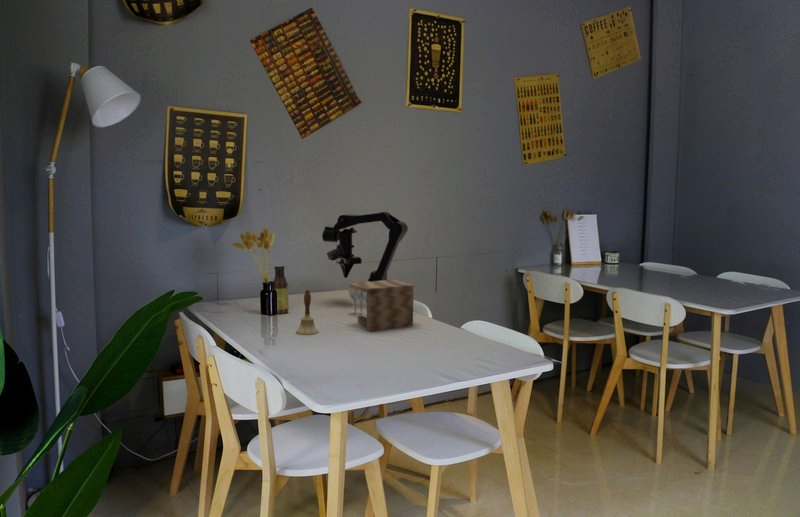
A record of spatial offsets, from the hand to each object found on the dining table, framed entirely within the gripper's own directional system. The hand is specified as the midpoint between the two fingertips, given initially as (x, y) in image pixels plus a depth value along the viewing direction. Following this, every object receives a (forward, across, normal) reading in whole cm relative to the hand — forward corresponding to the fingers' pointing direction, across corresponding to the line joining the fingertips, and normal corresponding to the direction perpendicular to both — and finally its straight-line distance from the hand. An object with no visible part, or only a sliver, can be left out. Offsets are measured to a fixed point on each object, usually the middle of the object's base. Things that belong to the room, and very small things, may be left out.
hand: (345, 277), depth 299 cm
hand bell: (+12, +38, -37) cm, 54 cm away
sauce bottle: (+12, +2, -32) cm, 34 cm away
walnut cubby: (+12, +42, -7) cm, 44 cm away
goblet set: (+12, +31, -7) cm, 34 cm away
